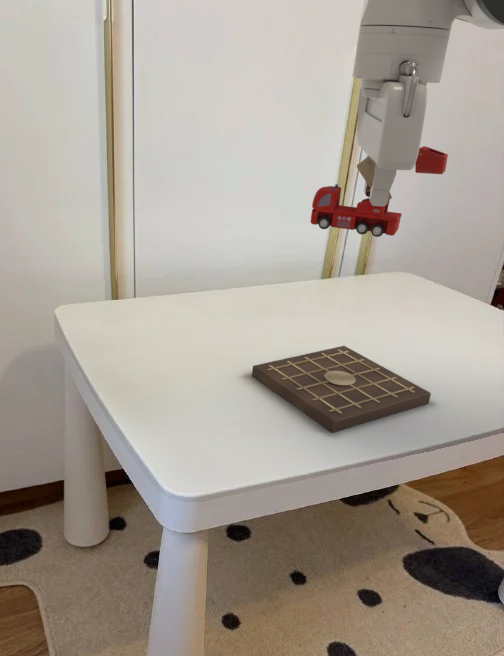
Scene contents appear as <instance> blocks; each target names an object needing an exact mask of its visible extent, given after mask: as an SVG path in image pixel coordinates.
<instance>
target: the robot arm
mask: <svg viewBox="0 0 504 656" xmlns="http://www.w3.org/2000/svg"><path fill="white" fill-rule="evenodd" d="M455 20H459V21H461V22H462V21H463V22H465V23H470V24H472V25H473V26H476V27H477V28H481V29H486V30H504V0H367V2H366V7H365V10H364V13H363V14H362V17H361V20H360V22H359V23H360V24H359V30H358V37H357V38H358V39H357V44H356V51H355V58H354V66H353V71H352V77H353V78H354V79H361V81H360V89H359V98H358V113H357V128H356V129H357V131H356V137H357V138H356V139H357V145H358V146H359V148H360V149H361V150H362V151H363V152H364V153H365V154H366V158H367V157H368V156H369V157H370V158H371V159H372V160H373V162H374V163H375V169H374V172H375V174H374V179H373V185H372V187H371V189H370V187H369V186H368V184H367V182H366V181H365V180H364V187H363V193H364V195H365V196H366V197H367V198H369V201H370V203H371V204H372V205H373V206H381V207H383V206H385V205H386V204H387V202H388V197H389V192H390V191H391V189H392V186H393V183H394V182H395V178H396V176H397V171H412V170H413V169H415V163H416V161H417V157H418V153H419V148H421V141H422V135H423V129H424V124H425V117H426V110H427V103H428V88H427V84H439V83H440V82H441V80H442V74H443V69H444V64H445V59H446V54H447V50H448V44H449V40H450V36H451V31H452V26H453V22H454V21H455ZM390 193H391V192H390Z"/></svg>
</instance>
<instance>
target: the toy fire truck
mask: <svg viewBox="0 0 504 656" xmlns="http://www.w3.org/2000/svg"><path fill="white" fill-rule="evenodd" d="M448 157H449V154H447V153H445V152H443V151H440V150H437V149H434V148H431V147H429V146H426V145H425V146H420V148H419V153H418V157H417V161H416V163H415V166H414V172H415V173H416V174H429V175H430V174H431V175H443V174H444V173H445V172H446V168H447V163H448ZM356 168H357V170H358V172H359V173H360V175H361V176H362V178H363V179H364V182H365V181H366V182H367V184H368V186H369V187H370V189H371V187H372V185H373V179H374V174H375V172H374V169H375V163H374V162H373V160H372V159H371V158H370V157H369V156H368V157H367V156H366V157H365V158H364V159H363V160H361V161H360V162H359V163H357V164H356ZM341 193H342V187H341V186H339V184H338V183H335V184H334V186H333V185H327V186H322V187H320V188H319V189H317V191H316V192H315V194H314V196H313V199H312V204H311V207H312V209H311V214H310V224H312V225H315V226H317V225H318V227H319V228H320V229H321V230H327V229H329V228H330V227H331V228H337V229H344V230H351V231H356V233H357V234H358V235H366V234H367V233H368V232H370V233H371V235H372V236H373V237H374V238H375V237H376V238H380V237H382V236H383V234H385V235H386V236H392V237H393V236H395V234H396V233H397V232H398V230H399V229H400V223H401V218H402V215H403V214H402V212H394V211H388V210H389V206H390V200H391V199H392V198H393V196H392V194H391V192H389V197H388V202H387V204H386V205H385V206H383V207H381V206H373V205H372V204H371V203H370V201H369V197H367V198H363V199H362V200H361V201H359V202H357V204H356V206H349V205H341V204H340V203H341Z"/></svg>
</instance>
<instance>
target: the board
mask: <svg viewBox="0 0 504 656" xmlns="http://www.w3.org/2000/svg"><path fill="white" fill-rule="evenodd" d="M251 376H252V378H254V379H256V380H257V381H258V382H260V383H261V384H263V385H264V386H265V387H267V388H269V389H270V390H271V391H273V392H274V393H275V394H277V395H278V396H279V397H281V398H282V399H284V400H285V401H286V402H288V403H290V405H292V406H294V407H295V408H296V409H298V410H300V411H301V412H302V413H303V414H305V415H306V416H308V418H311V419H312V420H314V421H315V422H316V423H318V424H319V425H321V426H322V427H323V428H324V429H326V430H328V431H329V432H330V433H336V432H339V431H342V430H345V429H348V428H352V427H355V426H359V425H362V424H365V423H368V422H372V421H376V420H378V419H382V418H384V417H388V416H392V415H395V414H398V413H401V412H404V411H405V412H406V411H408V410H411V409H415V408H418V407H420V406H424V405H428V404H429V403H430V399H431V396H432V392H430V391H429V390H426V389H425V388H424V387H423V388H422V387H421V386H419V385H417V384H415V383H414V382H412V381H410V380H408V379H406V378H405V377H403V376H401V375H399V374H398V373H396V372H393V371H392V370H391V369H388V368H386V367H385V366H383V365H381V364H379V363H377V362H375V361H373V360H371V359H370V358H368V357H366V356H364V355H362V354H361V353H359V352H357V351H355V350H353V349H351V348H349V347H348V346H346V345H340V346H336V347H332V348H327V349H322V350H319V351H313V352H308V353H304V354H300V355H299V354H298V355H295V356H290V357H285V358H281V359H277V360H273V361H268V362H264V363H263V362H262V363H259V364H254V365H252V372H251Z"/></svg>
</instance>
